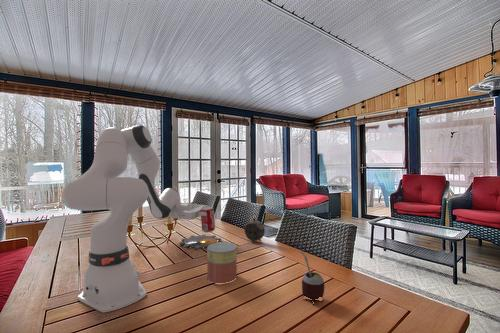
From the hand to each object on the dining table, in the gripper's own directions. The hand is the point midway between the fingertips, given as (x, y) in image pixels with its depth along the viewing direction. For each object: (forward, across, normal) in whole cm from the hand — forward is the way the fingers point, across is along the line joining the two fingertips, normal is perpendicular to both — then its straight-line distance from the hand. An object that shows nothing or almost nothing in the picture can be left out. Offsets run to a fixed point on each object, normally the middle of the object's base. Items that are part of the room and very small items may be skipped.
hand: (209, 212), depth 136 cm
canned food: (+22, -34, +17) cm, 44 cm away
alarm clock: (+22, +9, +17) cm, 29 cm away
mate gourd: (+55, -40, +17) cm, 70 cm away
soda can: (-2, +2, +10) cm, 11 cm away
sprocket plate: (-5, 0, +17) cm, 18 cm away
